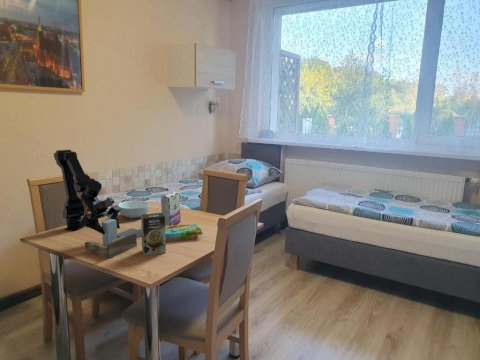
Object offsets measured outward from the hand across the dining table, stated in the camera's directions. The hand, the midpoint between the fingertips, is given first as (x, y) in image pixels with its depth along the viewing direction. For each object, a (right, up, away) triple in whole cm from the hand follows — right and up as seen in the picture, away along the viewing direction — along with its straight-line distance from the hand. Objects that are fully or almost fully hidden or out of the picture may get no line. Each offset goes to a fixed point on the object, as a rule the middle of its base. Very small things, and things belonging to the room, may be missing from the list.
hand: (111, 231), depth 155 cm
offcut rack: (+1, -7, -3) cm, 8 cm away
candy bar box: (+20, -1, +30) cm, 36 cm away
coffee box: (+20, -8, -5) cm, 22 cm away
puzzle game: (+27, -5, +13) cm, 31 cm away
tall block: (-1, -6, +2) cm, 7 cm away
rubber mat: (+4, -4, +15) cm, 16 cm away
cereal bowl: (-3, +2, +43) cm, 43 cm away
